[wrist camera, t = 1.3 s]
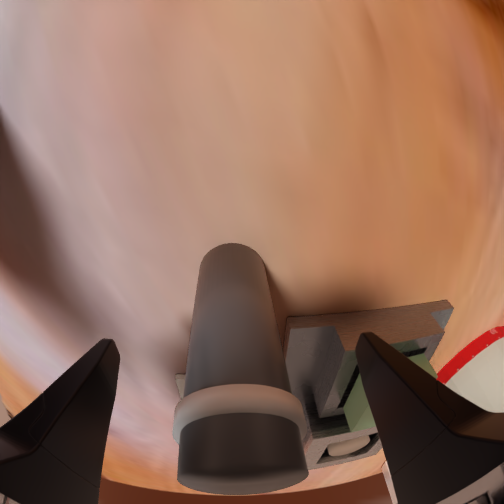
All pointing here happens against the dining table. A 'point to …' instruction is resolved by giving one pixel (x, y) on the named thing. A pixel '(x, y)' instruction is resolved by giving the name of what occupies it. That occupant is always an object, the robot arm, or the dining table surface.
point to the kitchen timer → (479, 371)
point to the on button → (358, 403)
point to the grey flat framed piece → (349, 367)
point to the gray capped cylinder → (237, 385)
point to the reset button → (347, 446)
